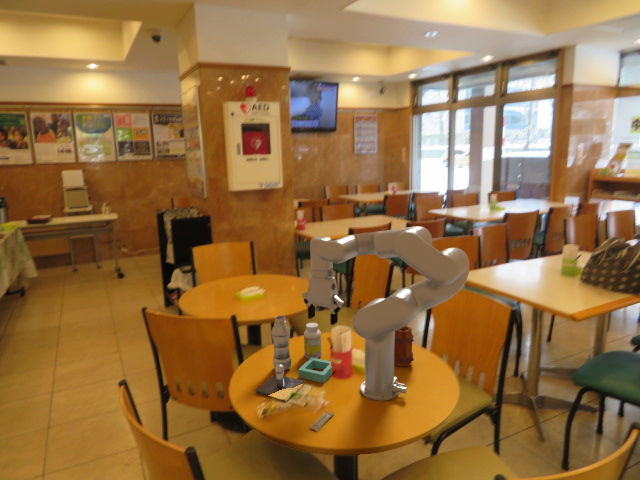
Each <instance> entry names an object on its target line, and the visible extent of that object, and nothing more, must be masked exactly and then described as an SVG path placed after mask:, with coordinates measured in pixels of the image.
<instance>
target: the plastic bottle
mask: <svg viewBox="0 0 640 480" xmlns="http://www.w3.org/2000/svg"><path fill="white" fill-rule="evenodd" d="M286 322H287V321H286V317H285V316H284V315H277V316H275V317H274V326H273V327H272V328H271V337H272V342H273V359H272V364H273V367H274V368H275V367H276V366H277V365H279V364H281V365H283V366H284V371H287V370H289V369H290V368H291V366H292V357H291V354H290V348H289V347H290V346H289V345H290V333H291V332H290V328H289V326H288V325H287V324H286Z"/></svg>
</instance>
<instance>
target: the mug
mask: <svg viewBox="0 0 640 480" xmlns="http://www.w3.org/2000/svg"><path fill="white" fill-rule="evenodd" d="M412 330H413V329H412V328H411V326H408V325H406V326H405V327H403V328H401V329H399V330H396V331H395V348H394V366H397V367H408V366H411V364H412V363H413V361H414V360H415V359H414V352H413V342H414V335H413V334H412Z"/></svg>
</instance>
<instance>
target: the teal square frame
mask: <svg viewBox="0 0 640 480" xmlns="http://www.w3.org/2000/svg"><path fill="white" fill-rule="evenodd" d="M331 362H332V361H330V360H325V359H322V358H321V359H320V358H312V357H311V358H308V360H307V361H306V362H304V364H302V365H301V366H300V367H299V369H298V378H300V379H304V380H305V379H306V380H309V381H314V382H318V383H323V384H324V383H326V382H327V380H329V378H330V377H331V376H332V375H333V374H332V366H331ZM313 369H318V370H322V371H318V370H313Z"/></svg>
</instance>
